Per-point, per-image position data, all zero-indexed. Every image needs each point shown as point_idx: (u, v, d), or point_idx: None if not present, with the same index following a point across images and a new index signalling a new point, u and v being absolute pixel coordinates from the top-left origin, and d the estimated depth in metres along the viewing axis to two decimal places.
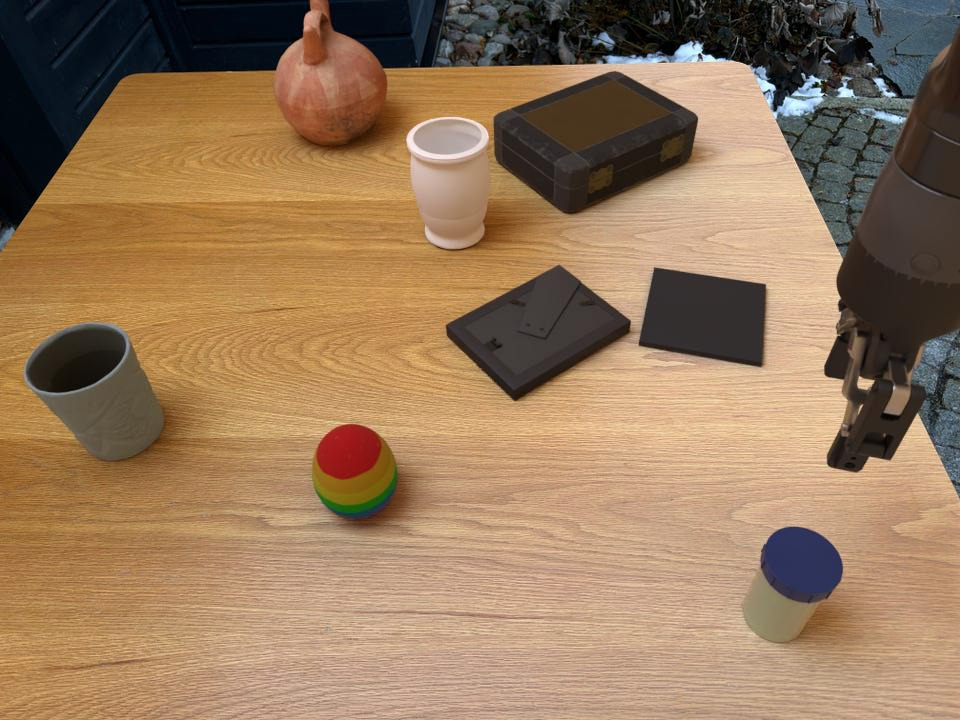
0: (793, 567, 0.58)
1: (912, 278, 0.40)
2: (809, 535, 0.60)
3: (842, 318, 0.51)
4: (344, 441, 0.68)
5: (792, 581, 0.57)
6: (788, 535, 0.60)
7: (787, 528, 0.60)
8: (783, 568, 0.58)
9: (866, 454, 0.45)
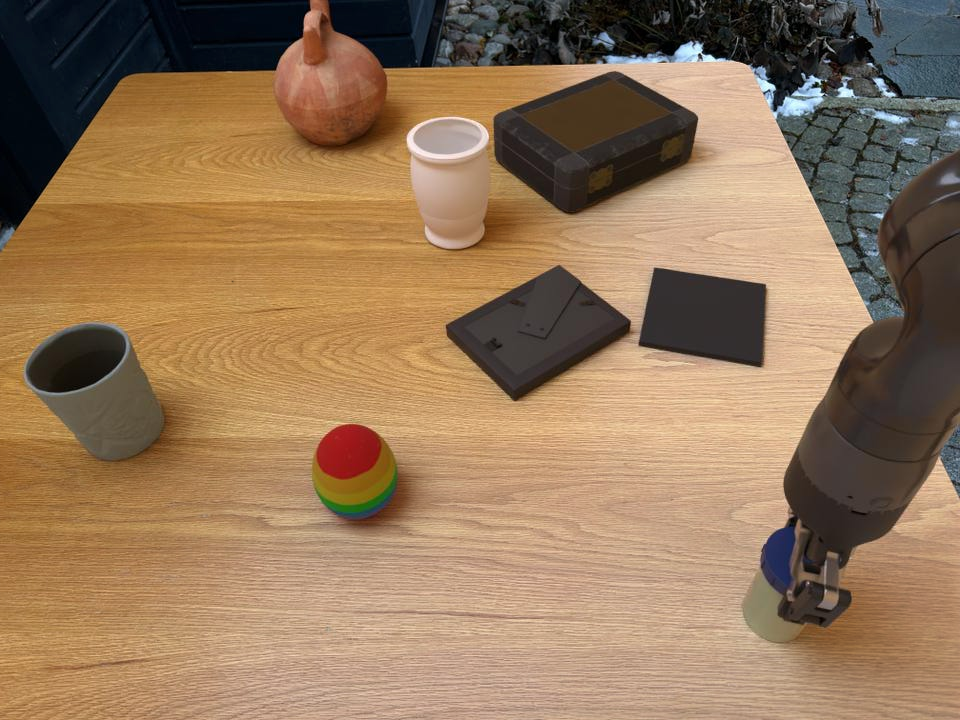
0: None
1: None
2: None
3: None
4: (344, 441, 0.68)
5: None
6: (788, 535, 0.60)
7: (787, 528, 0.60)
8: (783, 568, 0.58)
9: None
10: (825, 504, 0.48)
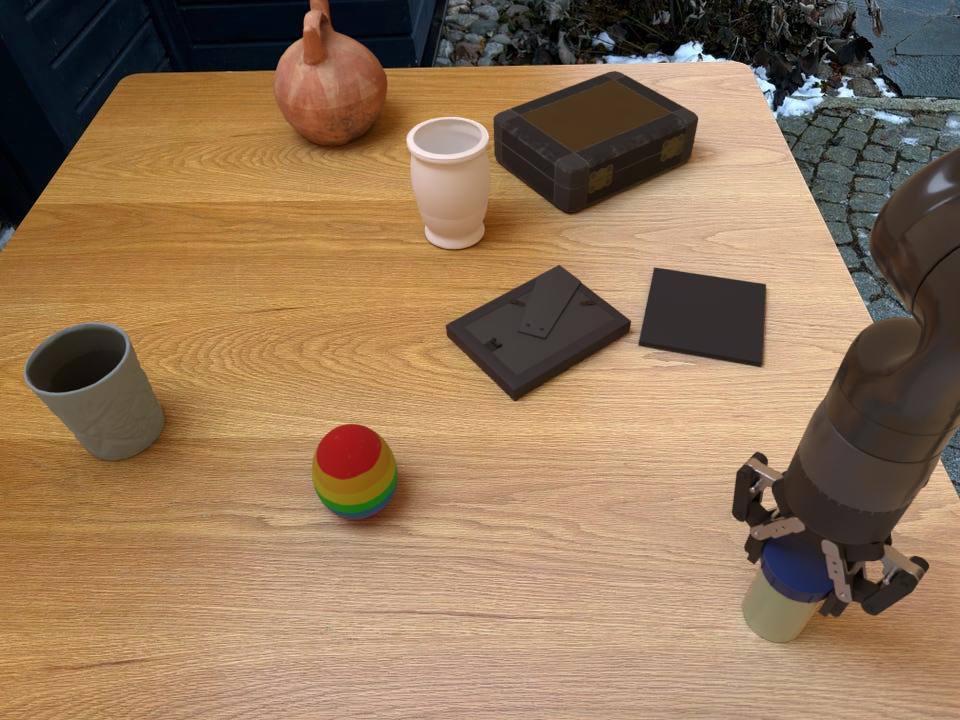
0: (810, 573, 0.57)
1: None
2: None
3: None
4: (344, 441, 0.68)
5: (824, 584, 0.57)
6: (774, 553, 0.59)
7: (766, 548, 0.59)
8: (808, 581, 0.57)
9: None
10: (888, 518, 0.47)
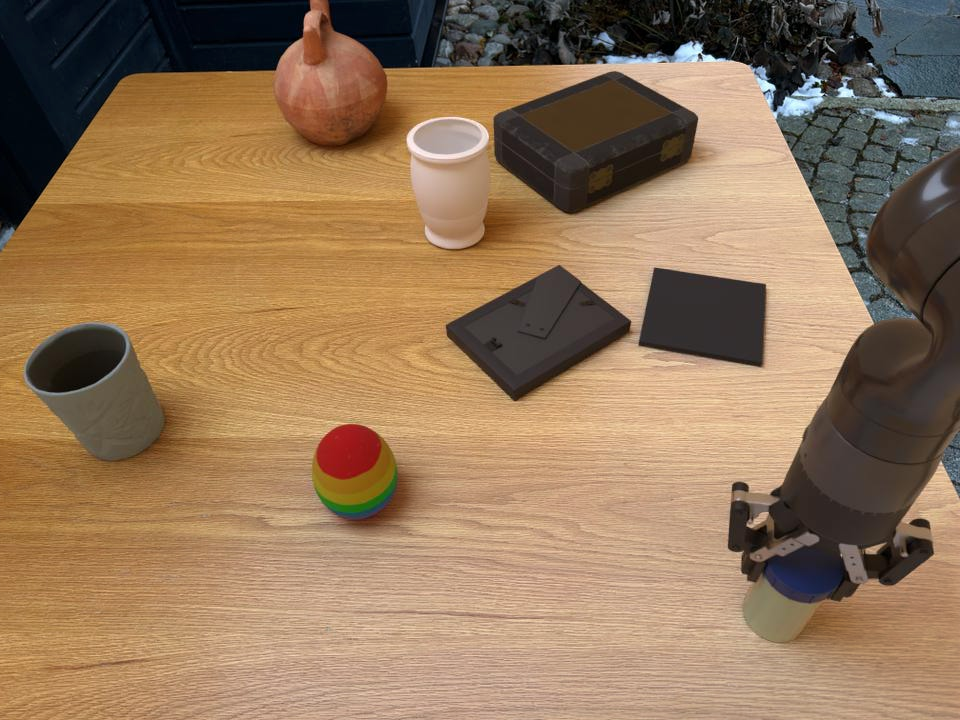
0: (817, 570, 0.58)
1: None
2: None
3: None
4: (344, 441, 0.68)
5: (834, 575, 0.57)
6: (779, 566, 0.58)
7: (771, 565, 0.58)
8: (821, 580, 0.57)
9: None
10: None
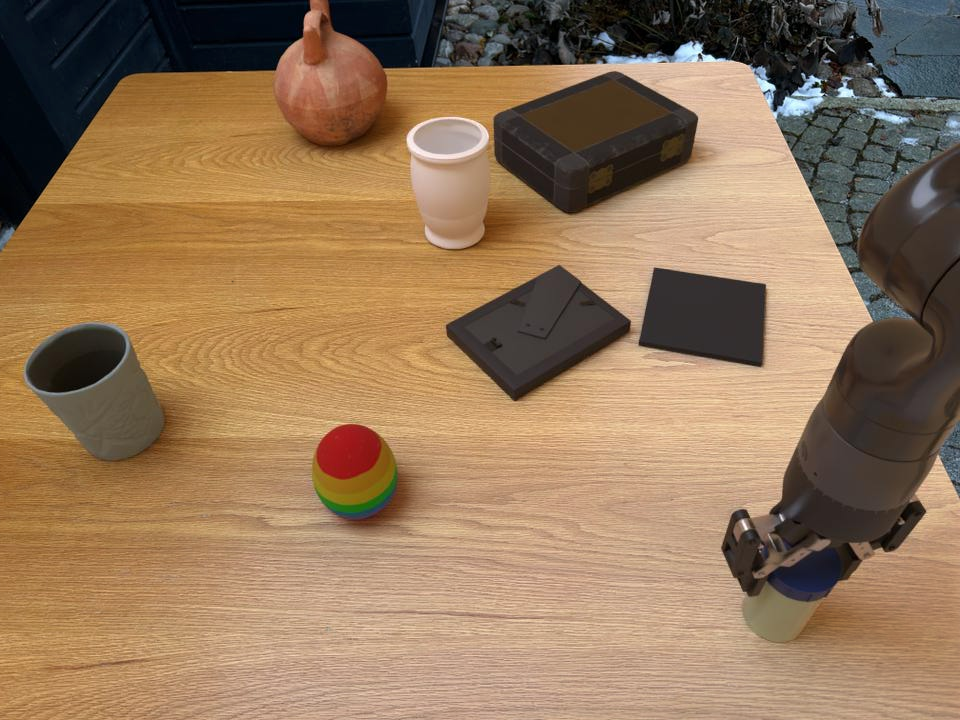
0: (818, 563, 0.58)
1: (798, 458, 0.50)
2: None
3: None
4: (344, 441, 0.68)
5: (833, 560, 0.58)
6: (788, 576, 0.58)
7: (781, 579, 0.57)
8: (827, 570, 0.58)
9: (726, 559, 0.57)
10: None
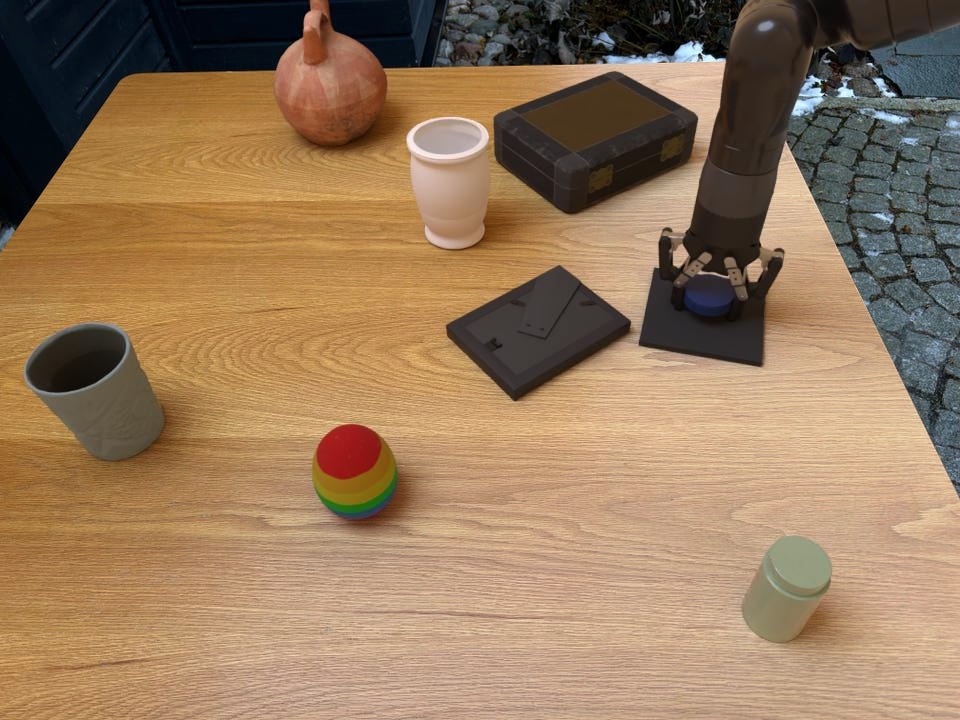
0: (718, 287, 0.89)
1: None
2: (699, 299, 0.88)
3: None
4: (344, 441, 0.68)
5: (723, 281, 0.90)
6: (713, 302, 0.87)
7: (712, 305, 0.87)
8: (725, 287, 0.89)
9: None
10: (761, 219, 0.78)
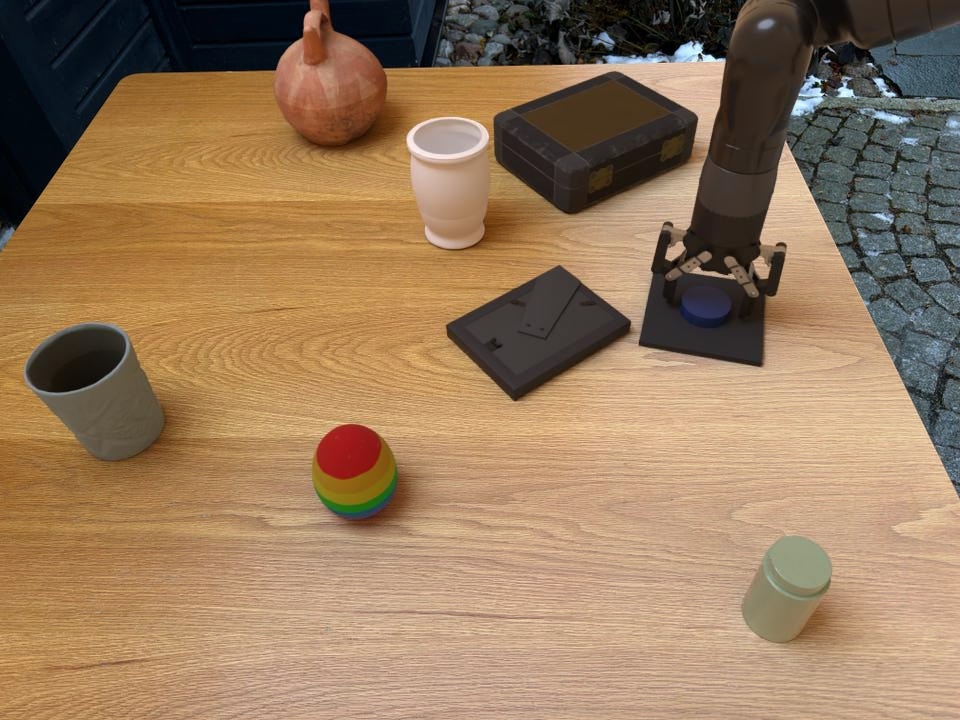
0: (715, 299, 0.90)
1: None
2: (696, 311, 0.89)
3: None
4: (344, 441, 0.68)
5: (719, 293, 0.91)
6: (710, 314, 0.88)
7: (709, 317, 0.88)
8: (722, 299, 0.90)
9: None
10: (761, 218, 0.78)
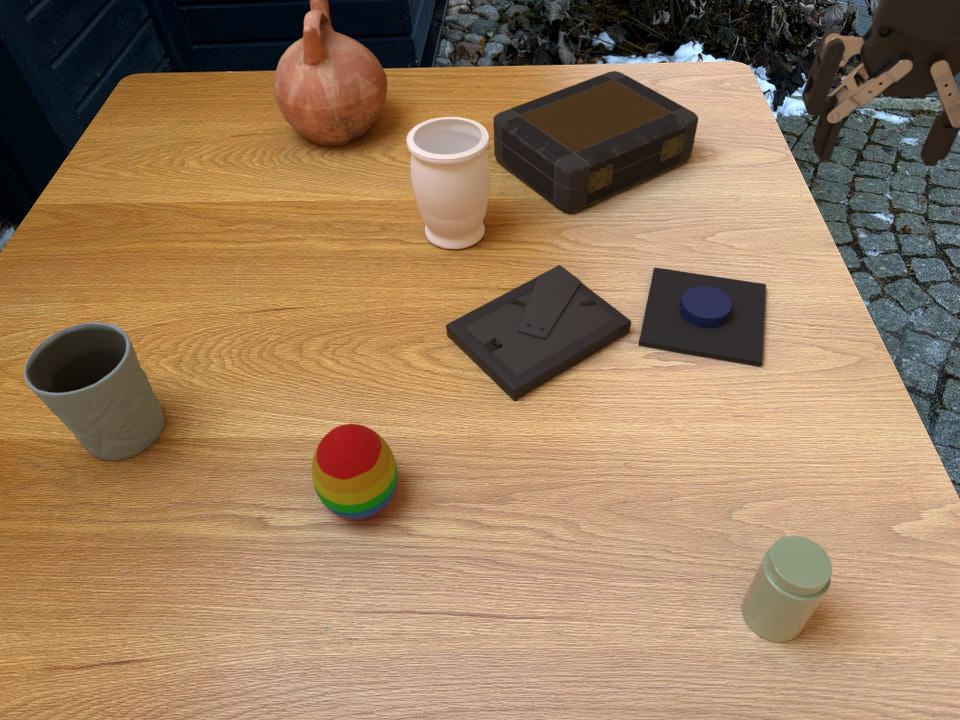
0: (715, 299, 0.90)
1: None
2: (696, 311, 0.89)
3: None
4: (344, 441, 0.68)
5: (719, 293, 0.91)
6: (710, 314, 0.88)
7: (709, 317, 0.88)
8: (722, 299, 0.90)
9: (804, 100, 0.61)
10: None
